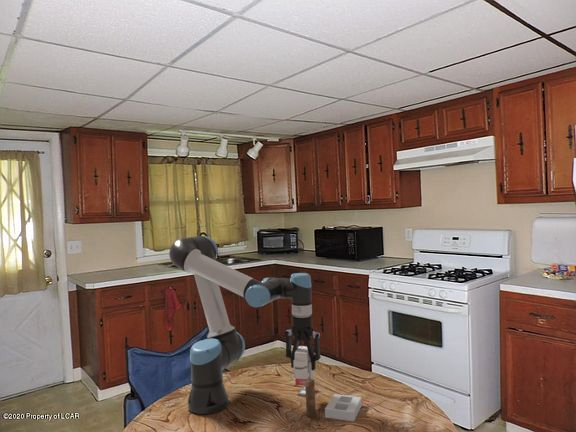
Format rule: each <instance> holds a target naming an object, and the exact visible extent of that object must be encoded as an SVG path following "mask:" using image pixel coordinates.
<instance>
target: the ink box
mask: <svg viewBox="0 0 576 432" xmlns="http://www.w3.org/2000/svg"><path fill="white" fill-rule="evenodd" d="M309 361H310V356H309V353H308V349H307V346H304V345H298V348H297V350H296V351H295V379H294V381H295V386H303V387H304V386H305V380H308V379H309Z"/></svg>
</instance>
